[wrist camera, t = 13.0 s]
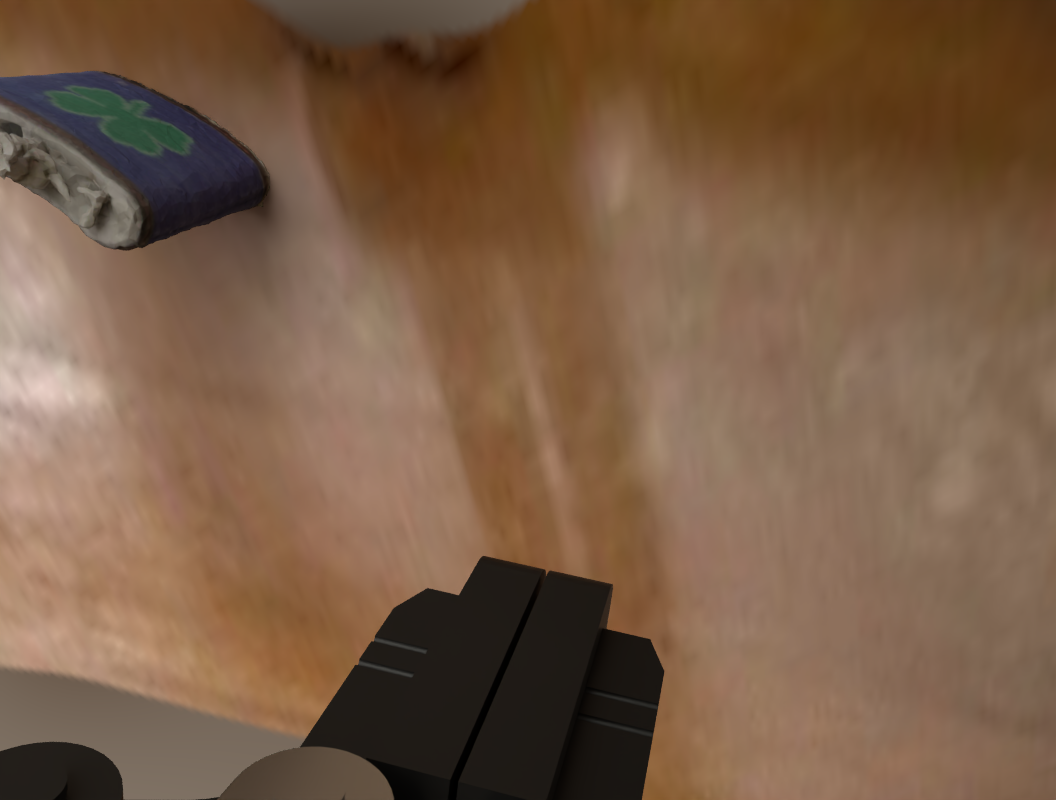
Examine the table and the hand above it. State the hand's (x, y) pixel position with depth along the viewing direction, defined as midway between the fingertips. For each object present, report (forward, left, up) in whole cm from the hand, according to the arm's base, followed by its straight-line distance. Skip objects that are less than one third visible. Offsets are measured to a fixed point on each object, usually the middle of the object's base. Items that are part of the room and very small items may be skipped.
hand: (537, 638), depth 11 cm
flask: (0, -22, -29) cm, 37 cm away
